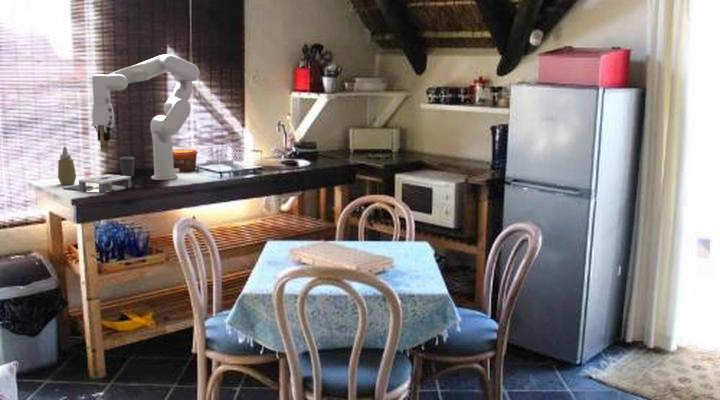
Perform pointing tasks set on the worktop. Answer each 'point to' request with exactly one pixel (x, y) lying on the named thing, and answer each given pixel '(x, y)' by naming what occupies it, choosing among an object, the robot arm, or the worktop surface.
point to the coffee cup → (127, 166)
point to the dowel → (103, 143)
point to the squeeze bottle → (66, 169)
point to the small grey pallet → (102, 183)
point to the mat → (76, 187)
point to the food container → (184, 160)
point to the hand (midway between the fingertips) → (104, 140)
